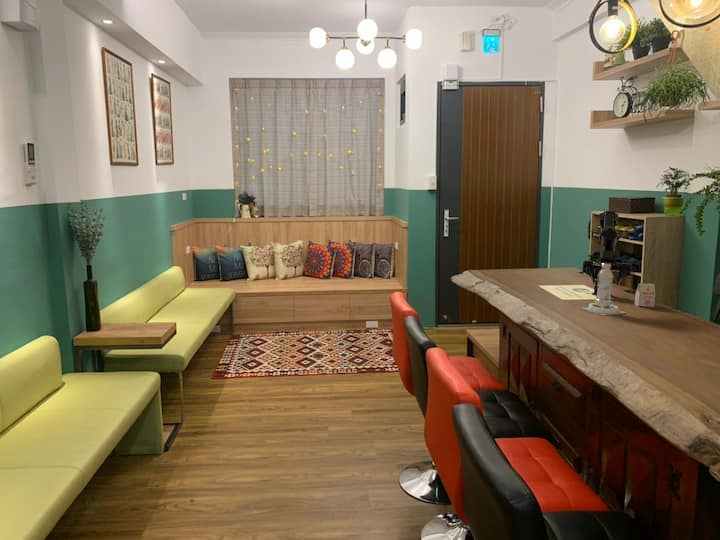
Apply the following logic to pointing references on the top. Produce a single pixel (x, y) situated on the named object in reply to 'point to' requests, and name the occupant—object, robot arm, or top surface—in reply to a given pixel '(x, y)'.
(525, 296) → the top surface
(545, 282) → the top surface
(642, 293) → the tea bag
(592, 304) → the bottle holder
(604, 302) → the plastic bottle
